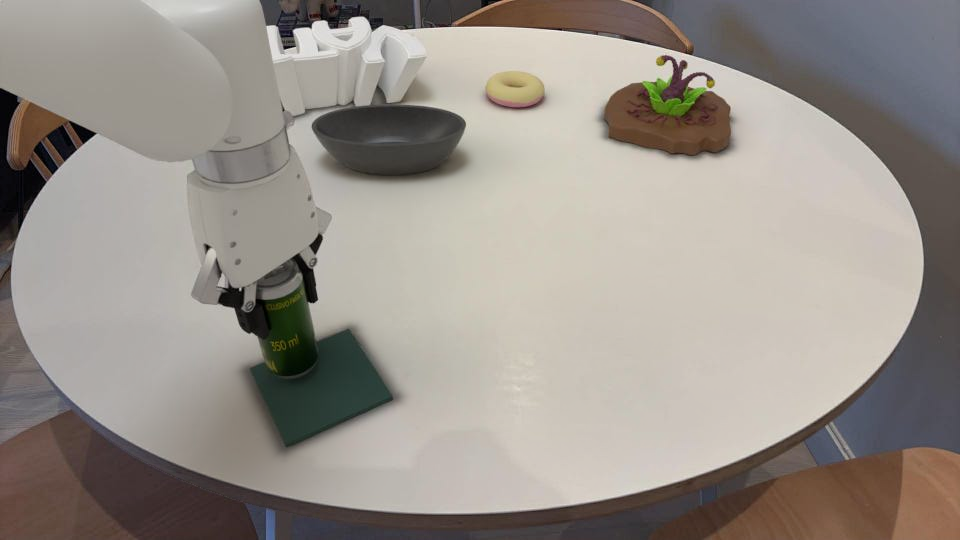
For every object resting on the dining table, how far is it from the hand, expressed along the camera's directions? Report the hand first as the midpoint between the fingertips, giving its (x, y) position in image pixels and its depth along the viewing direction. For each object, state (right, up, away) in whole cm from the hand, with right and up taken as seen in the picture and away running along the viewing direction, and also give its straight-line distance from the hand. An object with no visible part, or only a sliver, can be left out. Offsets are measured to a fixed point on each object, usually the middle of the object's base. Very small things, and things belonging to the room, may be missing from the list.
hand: (281, 312), depth 67 cm
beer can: (0, -5, +5) cm, 7 cm away
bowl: (+6, +20, +37) cm, 42 cm away
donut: (+25, +33, +53) cm, 67 cm away
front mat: (+3, -8, +4) cm, 9 cm away
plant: (+49, +28, +46) cm, 73 cm away
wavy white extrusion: (-8, +33, +53) cm, 63 cm away
